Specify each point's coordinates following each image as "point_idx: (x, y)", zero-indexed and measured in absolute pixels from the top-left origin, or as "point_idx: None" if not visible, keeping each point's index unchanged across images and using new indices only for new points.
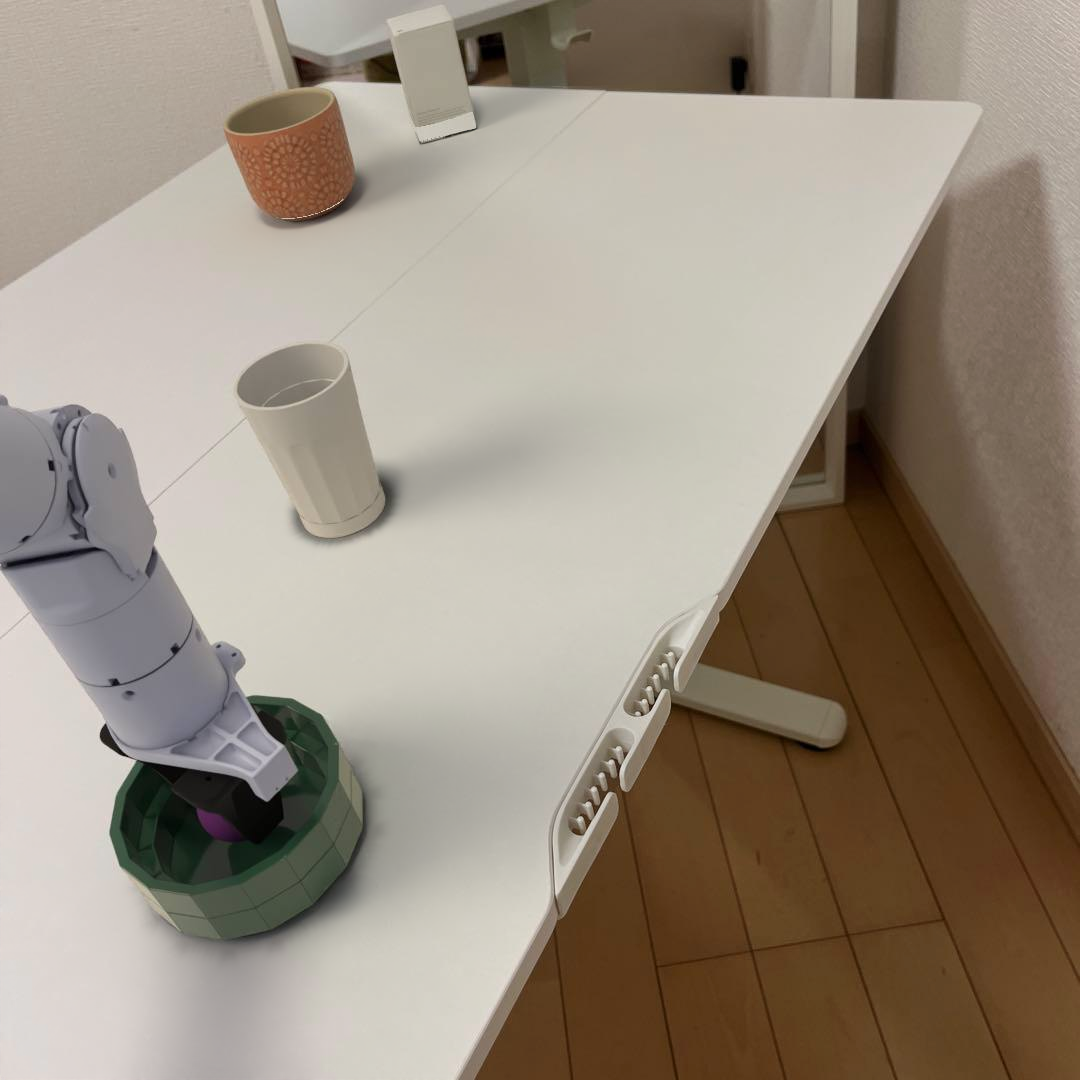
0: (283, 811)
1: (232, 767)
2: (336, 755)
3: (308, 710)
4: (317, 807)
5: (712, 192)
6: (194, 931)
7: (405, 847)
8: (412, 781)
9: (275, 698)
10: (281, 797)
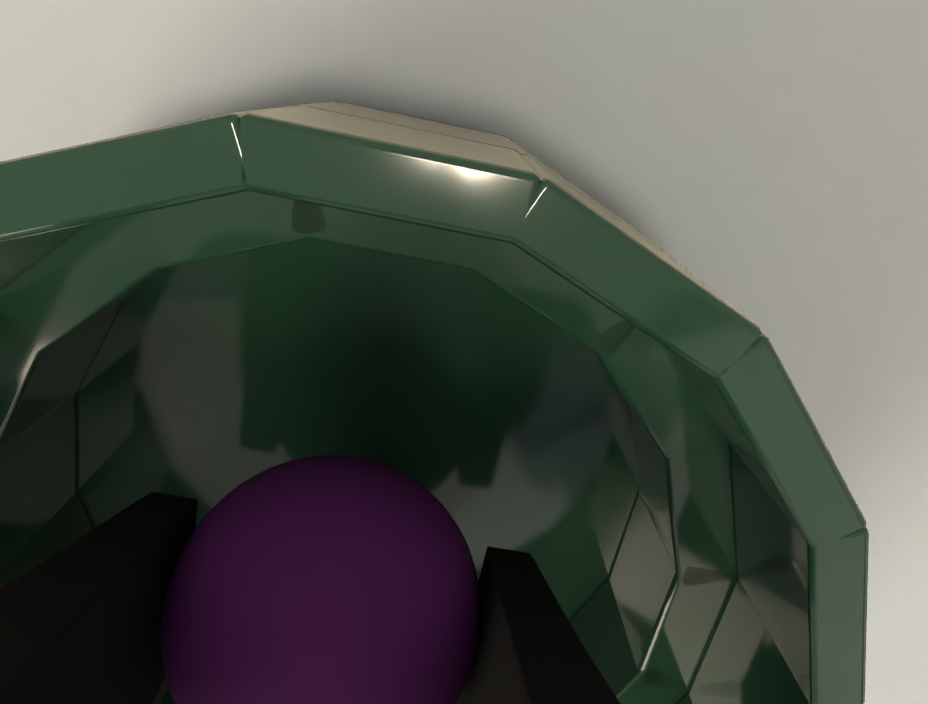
0: (535, 563)
1: None
2: (791, 409)
3: (425, 174)
4: (823, 668)
5: None
6: None
7: (850, 343)
8: (781, 100)
9: (118, 158)
10: (558, 605)
